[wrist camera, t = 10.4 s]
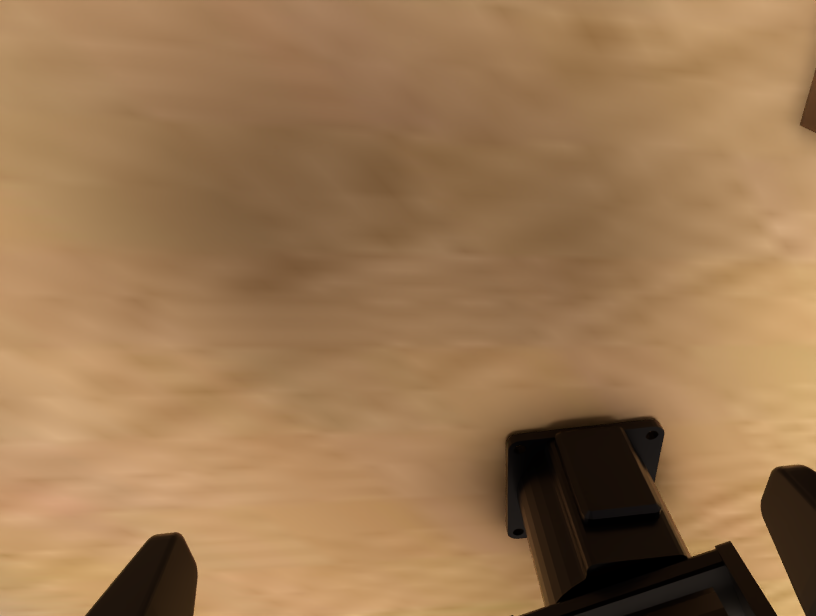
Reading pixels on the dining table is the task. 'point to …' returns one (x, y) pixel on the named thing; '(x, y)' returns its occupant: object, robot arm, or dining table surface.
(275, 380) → the dining table surface
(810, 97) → the walnut box
